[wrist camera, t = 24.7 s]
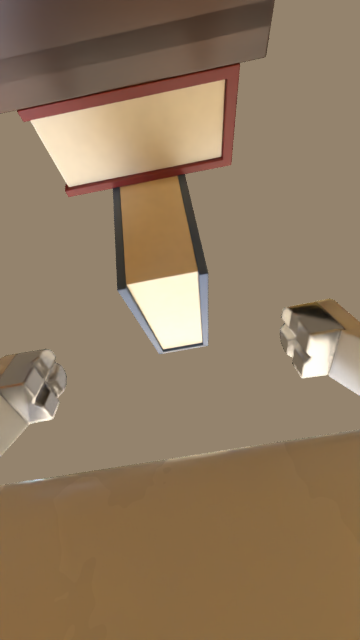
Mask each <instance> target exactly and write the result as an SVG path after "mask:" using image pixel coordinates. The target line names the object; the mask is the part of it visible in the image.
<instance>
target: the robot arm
mask: <svg viewBox="0 0 360 640" xmlns="http://www.w3.org/2000/svg"><path fill="white" fill-rule="evenodd" d="M281 318H282V319H283V321H284V322H285V323H284V324H283V326H282V327H281V328H280V339H281V344H282V346H283V349H284V351H285V352H286V354H288V355H289V356H291V357H293V363H292V364H293V365H294V367H295V368H296V370H297V372H298V373H299V375H300V376H301V378H308V377H316V376H323V375H329V376H330V377H331V378H333V379H334V380H336V381H337V382H339V383H341V384H342V385H344V386H345V387H347V388H349V389H350V390H352V391H353V392H355V393H356V394H358V395H360V322H359V321H358V320H357V319H355V318H354V317H353V316H352V315H351V314H350V313H348V312H347V311H346V310H345V309H344V308H343V307H341V306H340V305H339V304H338V303H337V302H336V301H334V300H333V299H325V300H320V301H315V302H313V303H307V304H301V305H296V306H290V307H285V308H283V311H282V316H281ZM55 359H56V356H55V355H54V353H53V352H52V350H49V349H44V350H37V351H30V352H24V353H19V354H12V355H6V356H4V357H2V358H1V359H0V457H1V456H2V454H3V453H4V452H5V451H6V450H7V449H8V448H9V446H10V445H11V444H12V443H13V442H14V441H15V440H16V439H17V437H18V436H19V435H20V434H21V433H22V432H23V431H24V430H25V428H27V426H28V424H31V423H36V422H41V421H46V420H51V419H53V418H54V415H55V413H56V410H57V408H58V405H59V403H60V402H59V400H58V397H59V396H60V394H62V393H63V392H64V390H65V387H66V380H67V376H66V373H65V370H64V369H63V367H62V366H61V365H59V364H58V363H56V362H55ZM0 640H360V430H353V431H347V432H340V433H334V434H327V435H321V436H315V437H308V438H302V439H295V440H289V441H283V442H276V443H269V444H263V445H257V446H250V447H244V448H237V449H230V450H225V451H218V452H211V453H205V454H199V455H192V456H185V457H179V458H172V459H166V460H160V461H153V462H147V463H140V464H134V465H128V466H121V467H115V468H108V469H102V470H95V471H89V472H82V473H76V474H69V475H63V476H57V477H50V478H44V479H37V480H31V481H25V482H18V483H11V484H5V485H0Z"/></svg>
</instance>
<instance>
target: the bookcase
mask: <svg viewBox="0 0 360 640" xmlns="http://www.w3.org/2000/svg"><path fill="white" fill-rule="evenodd" d="M274 1H275V0H0V114H1V113H5V112H10V111H15V110H20V109H25V108H30V107H34V106H39V105H44V104H48V103H53V102H58V101H62V100H67V99H72V98H77V97H81V96H86V95H91V94H95V93H100V92H105V91H109V90H114V89H119V88H124V87H128V86H133V85H138V84H142V83H147V82H152V81H156V80H161V79H166V78H171V77H175V76H180V75H185V74H189V73H194V72H199V71H203V70H208V69H213V68H217V67H222V66H227V65H232V64H236V63H241V62H246V61H250V60H255V59H260V58H264V57H266V53H267V46H268V40H269V32H270V26H271V20H272V14H273V8H274Z"/></svg>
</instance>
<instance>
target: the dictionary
mask: <svg viewBox="0 0 360 640" xmlns="http://www.w3.org/2000/svg"><path fill="white" fill-rule="evenodd" d="M239 70H240V63H236V64H232V65H227V66H222V67H217V68H213V69H208V70H203V71H199V72H194V73H189V74H185V75H180V76H175V77H171V78H166V79H161V80H156V81H152V82H147V83H142V84H138V85H133V86H128V87H124V88H119V89H114V90H109V91H105V92H100V93H95V94H91V95H86V96H81V97H77V98H72V99H67V100H62V101H58V102H53V103H48V104H44V105H39V106H34V107H30V108H25V109H20V110H17V112H18V114H19V115H20V116H21V118H22V120H23V121H24V122H26V121H31V123H32V124H33V126H34V128H35V130H36V132H37V133H38V135H39V137H40V138H41V140H42V142H43V144H44V145H45V147H46V149H47V150H48V152H49V154H50V156H51V157H52V159H53V161H54V163H55V164H56V166H57V168H58V169H59V171H60V173H61V175H62V176H63V178H64V180H65V182H66V186H65V191H66V193H67V195H68V197H71V196H77V195H81V194H87V193H91V192H97V191H101V190H107V189H112V188H117V187H122V186H127V185H132V184H137V183H142V182H148V181H153V180H158V179H163V178H168V177H173V176H178V175H183V174H188V173H193V172H198V171H203V170H208V169H213V168H218V167H223V166H228V165H231V162H232V150H233V139H234V127H235V116H236V104H237V92H238V81H239Z"/></svg>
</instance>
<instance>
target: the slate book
mask: <svg viewBox="0 0 360 640" xmlns="http://www.w3.org/2000/svg"><path fill="white" fill-rule="evenodd" d="M113 200H114V225H115V244H116V245H115V247H116V269H117V288H118V289H117V290H118V292H119V293H120V295H121V296H122V298H123V299H124V301H125V302H126V304H127V305H128V307H129V308H130V310H131V312H132V313H133V315H134V316H135V318H136V319H137V321H138V322H139V324H140V325H141V327H142V328H143V330H144V331H145V333H146V334H147V336H148V337H149V339H150V341H151V342H152V344H153V345H154V347H155V348H156V350H157V351H158V353H159V354H163V353H169V352H175V351H180V350H186V349H192V348H198V347H203V346H208V270H207V266H206V262H205V258H204V253H203V249H202V245H201V241H200V237H199V233H198V228H197V224H196V220H195V216H194V211H193V207H192V203H191V199H190V195H189V190H188V186H187V182H186V178H185V174H183V175H178V176H173V177H168V178H163V179H158V180H153V181H148V182H142V183H137V184H132V185H127V186H122V187H117V188H113Z"/></svg>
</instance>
